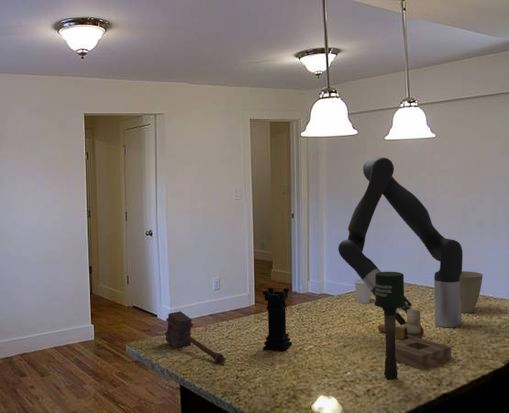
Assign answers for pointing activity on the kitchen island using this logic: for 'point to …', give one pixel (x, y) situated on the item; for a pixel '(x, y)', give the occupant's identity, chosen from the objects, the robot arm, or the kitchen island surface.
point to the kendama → (399, 330)
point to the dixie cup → (362, 291)
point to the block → (421, 352)
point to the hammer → (186, 335)
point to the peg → (413, 323)
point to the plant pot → (469, 290)
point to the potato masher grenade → (390, 312)
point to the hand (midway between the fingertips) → (409, 321)
